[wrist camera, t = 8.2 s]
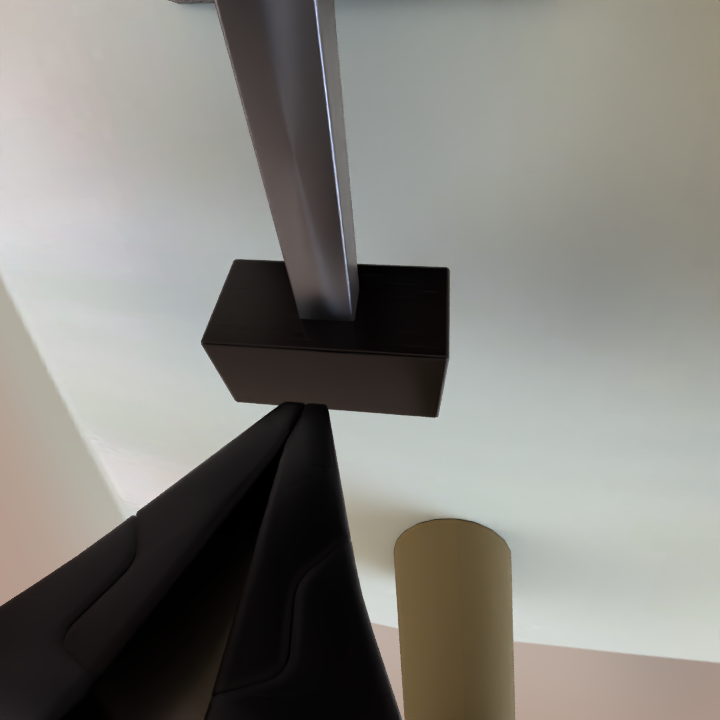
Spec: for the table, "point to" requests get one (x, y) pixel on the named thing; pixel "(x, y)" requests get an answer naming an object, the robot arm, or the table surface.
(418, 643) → the cork
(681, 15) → the table surface
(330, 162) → the lever
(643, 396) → the table surface
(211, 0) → the toaster
